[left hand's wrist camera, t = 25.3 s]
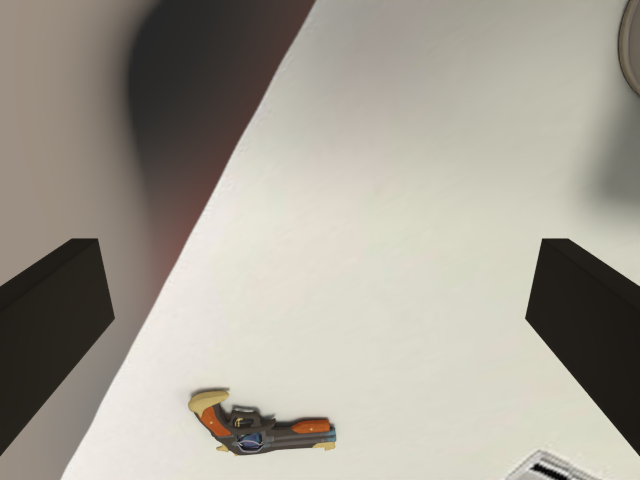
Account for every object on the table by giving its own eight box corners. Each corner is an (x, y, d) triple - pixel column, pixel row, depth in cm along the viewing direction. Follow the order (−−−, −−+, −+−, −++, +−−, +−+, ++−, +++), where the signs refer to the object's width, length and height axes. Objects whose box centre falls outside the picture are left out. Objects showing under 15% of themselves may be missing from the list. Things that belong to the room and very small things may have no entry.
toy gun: (184, 402, 53) (194, 467, 55) (334, 390, 54) (337, 455, 56) (189, 389, 55) (199, 452, 58) (332, 378, 56) (335, 440, 59)
